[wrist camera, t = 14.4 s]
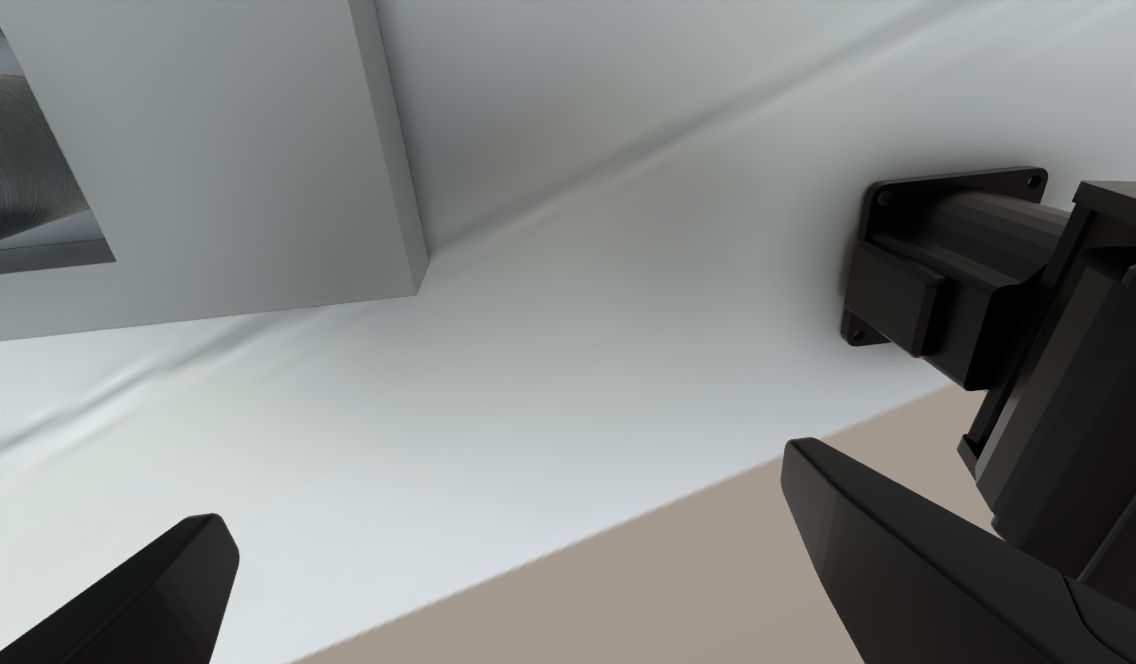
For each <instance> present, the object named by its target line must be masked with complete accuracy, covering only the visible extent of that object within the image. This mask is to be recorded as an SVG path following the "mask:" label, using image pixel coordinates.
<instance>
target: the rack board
mask: <svg viewBox="0 0 1136 664" xmlns="http://www.w3.org/2000/svg"><path fill="white" fill-rule="evenodd" d="M0 32H3V33H4V35H5V37H6V39H7V41H8V43H9V45H10V47H11V49H12V51H13V53H14V55H15V57H16V59H17V61H18V63H19V65H20V67H21V69H22V71H23V73H24V76H25V78H26V80H27V82H28V84H29V86H30V88H31V90H32V92H33V94H34V96H35V98H36V100H37V102H38V104H39V106H40V108H41V110H42V112H43V114H44V116H45V118H46V120H47V122H48V124H49V126H50V128H51V130H52V132H53V134H54V136H55V138H56V140H57V142H58V144H59V146H60V148H61V150H62V152H63V154H64V156H65V158H66V160H67V162H68V164H69V166H70V168H71V170H72V172H73V174H74V176H75V178H76V180H77V182H78V184H79V186H80V188H81V190H82V193H83V195H84V197H85V199H86V201H87V203H88V205H89V207H90V209H91V211H92V213H93V215H94V217H95V219H96V221H97V223H98V225H99V227H100V229H101V231H102V233H103V235H104V237H105V239H100V240H90V241H81V242H71V243H61V244H52V245H42V246H32V247H23V248H13V249H3V250H0V341H7V340H16V339H25V338H34V337H43V336H53V335H62V334H71V333H80V332H89V331H98V330H107V329H116V328H125V327H134V326H143V325H152V324H161V323H170V322H179V321H188V320H197V319H206V318H215V317H225V316H234V315H243V314H252V313H261V312H270V311H279V310H288V309H297V308H306V307H315V306H324V305H333V304H342V303H351V302H360V301H369V300H378V299H387V298H396V297H406V296H415V295H416V294H417V292H418V290H419V287H420V285H421V282H422V280H423V277H424V275H425V273H426V270H427V268H428V265H429V263H430V262H429V257H428V252H427V247H426V243H425V238H424V233H423V229H422V224H421V219H420V214H419V210H418V205H417V200H416V195H415V191H414V186H413V181H412V177H411V172H410V167H409V162H408V158H407V153H406V148H405V144H404V139H403V134H402V129H401V125H400V120H399V115H398V111H397V106H396V101H395V96H394V92H393V87H392V82H391V78H390V73H389V68H388V63H387V59H386V54H385V49H384V45H383V40H382V35H381V30H380V26H379V21H378V16H377V12H376V7H375V2H374V0H0Z"/></svg>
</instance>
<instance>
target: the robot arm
mask: <svg viewBox="0 0 1136 664" xmlns="http://www.w3.org/2000/svg"><path fill="white" fill-rule="evenodd" d="M1031 177H1032V178H1031ZM1030 178H1031V181H1030V183H1029V184H1028V185H1027V182H1028V180H1029V179H1030ZM1047 180H1048V173H1047V171H1046V170H1045V169H1043V168H1039V167H1034V166H1023V167H1014V168H1004V169H995V170H985V171H976V172H966V173H957V174H947V175H938V176H928V177H919V178H909V179H900V180H890V181H881V182H878V183H875V184H874V185H872V186H871V187H870V188H869V189H868V191H867V193H866V195H865V199H864V205H863V211H862V217H861V223H860V228H859V234H858V240H857V243H856V245H855V246H854V251H853V257H852V263H851V269H850V274H849V280H848V286H847V292H846V298H845V306H846V309H845V315H844V321H843V327H842V338H843V339H844V340H845V341H846V342H847V343H848V344H850V345H851V346H865V345H873V344H882V343H890V342H893V343H894V344H896V345H897V346H898V347H900V348H901V349H902V350H904V351H905V352H906V353H908V354H909V355H910V356H912V357H914V358H922V359H924V360H925V361H926V362H928V363H929V364H931V365H932V366H933V367H935V368H936V369H937V370H939V371H940V372H941V373H943V374H944V375H946V376H947V377H948V378H950V379H951V380H952V381H954V382H955V383H957V384H958V385H959V386H961V387H962V388H963V389H965V390H966V391H976V390H984V391H985V392H987V394H986V396H985V398H984V400H983V402H982V405H981V407H980V409H979V411H978V413H977V415H976V417H975V420H974V422H973V424H972V426H971V428H970V430H969V432H968V434H964V435H963V436H962V439H961V440H960V443H959V445H958V447H957V451H958V453H959V454H960V456H961V458H962V459H963V461H964V463H965V465H966V466H967V468H968V470H969V471H970V473H971V475H972V476H973V478H974V480H975V481H976V486H977V488H978V489H979V491H980V493H981V494H982V496H983V498H984V500H985V501H986V503H987V505H988V506H989V508H990V510H991V511H992V512H993V513H994V517H993V519H992V521H991V525H992V527H993V529H994V530H995V531H996V533H997V534H998V535H999V536H1000V537H1001V538H1002V539H1003V540H1004V541H1003V540H1001V539H1000V538H998V537H996V536H994V535H992V534H990V533H989V532H987V531H985V530H983V529H981V528H979V527H978V526H976V525H974V524H972V523H970V522H968V521H967V520H965V519H963V518H961V517H959V516H957V515H956V514H954V513H952V512H950V511H948V510H946V509H945V508H943V507H941V506H939V505H937V504H935V503H933V502H932V501H930V500H928V499H926V498H924V497H923V496H921V495H919V494H917V493H915V492H913V491H911V490H909V489H908V488H906V487H904V486H902V485H901V484H899V483H897V482H895V481H893V480H891V479H890V478H888V477H886V476H884V475H882V474H880V473H878V472H877V471H875V470H873V469H871V468H869V467H867V466H866V465H864V464H862V463H860V462H858V461H856V460H855V459H853V458H851V457H849V456H847V455H845V454H844V453H842V452H840V451H838V450H836V449H834V448H833V447H831V446H829V445H827V444H825V443H823V442H822V441H820V440H818V439H816V438H813V437H807V438H799V439H791V440H789V441H788V442H787V443H786V445H785V449H784V457H783V465H782V472H781V486H782V490H783V494H784V496H785V498H786V501H787V503H788V506H789V508H790V511H791V513H792V515H793V518H794V520H795V522H796V525H797V527H798V530H799V532H800V534H801V537H802V539H803V542H804V544H805V547H806V549H807V551H808V554H809V556H810V559H811V561H812V563H813V566H814V568H815V570H816V572H817V575H818V577H819V579H820V581H821V583H822V585H823V587H824V589H825V591H826V593H827V595H828V597H829V599H830V600H831V602H832V604H833V606H834V608H835V609H836V611H837V613H838V615H839V617H840V618H841V620H842V622H843V624H844V626H845V628H846V630H847V632H848V633H849V635H850V637H851V639H852V641H853V642H854V644H855V646H856V648H857V650H858V652H859V654H860V655H861V657H862V659H863V661H864V663H865V664H1136V182H1122V181H1087V180H1083V181H1081V183H1080V185H1079V187H1078V189H1077V191H1076V193H1075V196H1074V198H1073V200H1072V202H1074V203H1076V204H1075V207H1074V209H1073V211H1072V213H1070V212H1066V211H1062V210H1059V209H1055V208H1052V207H1048V206H1044V205H1041V204H1040V202H1041V199H1042V196H1043V193H1044V190H1045V187H1046V184H1047ZM882 192H885V197H884V199H883V200H882V201H881V202H878V198H879V196H880V194H881V193H882ZM858 330H860V331H859V333H858V334H857V335H856V336H853V335H854V333H855V332H856V331H858ZM239 559H240V557H239V550H238V547H237V545H236V543H235V541H234V539H233V537H232V536H231V534H230V532H229V530H228V528H227V526H226V524H225V522H224V520H223V519H222V517H221V516H219V515H218V514H214V513H209V514H201V515H194V516H190V517H187V518H185V519H183V520H182V521H180V522H179V523H178V524H176V525H175V526H173V527H172V528H171V529H169V530H168V531H167V532H165V533H164V534H162V535H161V536H160V537H158V538H157V539H155V540H154V541H153V542H151V543H150V544H148V545H147V546H146V547H144V548H143V549H141V550H140V551H139V552H137V553H136V554H135V555H133V556H132V557H130V558H129V559H128V560H126V561H125V562H123V563H122V564H121V565H119V566H118V567H116V568H115V569H114V570H112V571H111V572H110V573H108V574H107V575H105V576H104V577H103V578H101V579H100V580H98V581H97V582H96V583H94V584H93V585H91V586H90V587H89V588H87V589H86V590H84V591H83V592H82V593H80V594H79V595H78V596H76V597H75V598H73V599H72V600H71V601H69V602H68V603H66V604H65V605H64V606H62V607H61V608H59V609H58V610H57V611H55V612H54V613H53V614H51V615H50V616H48V617H47V618H46V619H44V620H43V621H41V622H40V623H39V624H37V625H36V626H34V627H33V628H32V629H30V630H29V631H27V632H26V633H25V634H23V635H22V636H21V637H19V638H18V639H16V640H15V641H14V642H12V643H11V644H9V645H8V646H7V647H5V648H4V649H2V650H1V651H0V664H209V662H210V659H211V656H212V653H213V650H214V647H215V644H216V640H217V637H218V634H219V630H220V627H221V624H222V620H223V617H224V613H225V610H226V607H227V603H228V600H229V597H230V593H231V590H232V586H233V583H234V580H235V576H236V573H237V570H238V566H239Z"/></svg>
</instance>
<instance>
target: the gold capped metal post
mask: <svg viewBox="0 0 1136 664" xmlns="http://www.w3.org/2000/svg"><path fill="white" fill-rule="evenodd" d="M88 208H90V207H89V205H88V203H87V201H86V199H85V197H84V195H83V193H82V190H81V188H80V186H79V184H78V182H77V180H76V178H75V176H74V174H73V172H72V170H71V168H70V166H69V164H68V162H67V160H66V158H65V156H64V154H63V152H62V150H61V148H60V146H59V144H58V142H57V140H56V138H55V136H54V134H53V132H52V130H51V128H50V126H49V124H48V122H47V120H46V118H45V116H44V114H43V112H42V110H41V108H40V106H39V104H38V102H37V100H36V98H35V96H34V94H33V92H32V90H31V88H30V86H29V84H28V82H27V80H26V78H25V77H20V76H6V75H4V76H0V240H1V239H4V238H7V237H10V236H12V235H15V234H18V233H21V232H24V231H27V230H29V229H32V228H35V227H38V226H41V225H44V224H46V223H49V222H52V221H55V220H58V219H61V218H64V217H66V216H69V215H72V214H75V213H78V212H81V211H83V210H86V209H88Z"/></svg>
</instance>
